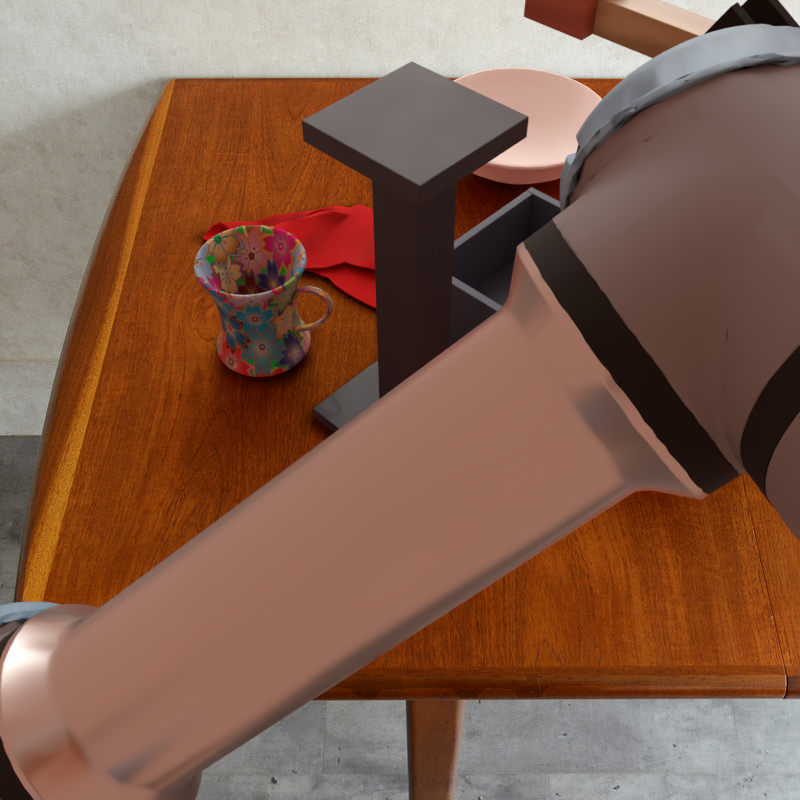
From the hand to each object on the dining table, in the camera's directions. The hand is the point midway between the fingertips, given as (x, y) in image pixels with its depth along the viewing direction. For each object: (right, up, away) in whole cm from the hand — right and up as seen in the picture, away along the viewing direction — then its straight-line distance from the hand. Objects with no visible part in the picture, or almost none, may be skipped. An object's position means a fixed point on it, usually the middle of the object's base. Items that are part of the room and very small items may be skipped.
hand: (733, 11), depth 54 cm
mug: (-31, -19, +28) cm, 46 cm away
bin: (-4, -19, +28) cm, 34 cm away
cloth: (-27, -8, +37) cm, 47 cm away
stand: (-19, -25, +23) cm, 39 cm away
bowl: (-7, +3, +47) cm, 48 cm away
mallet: (-2, -1, +4) cm, 5 cm away
